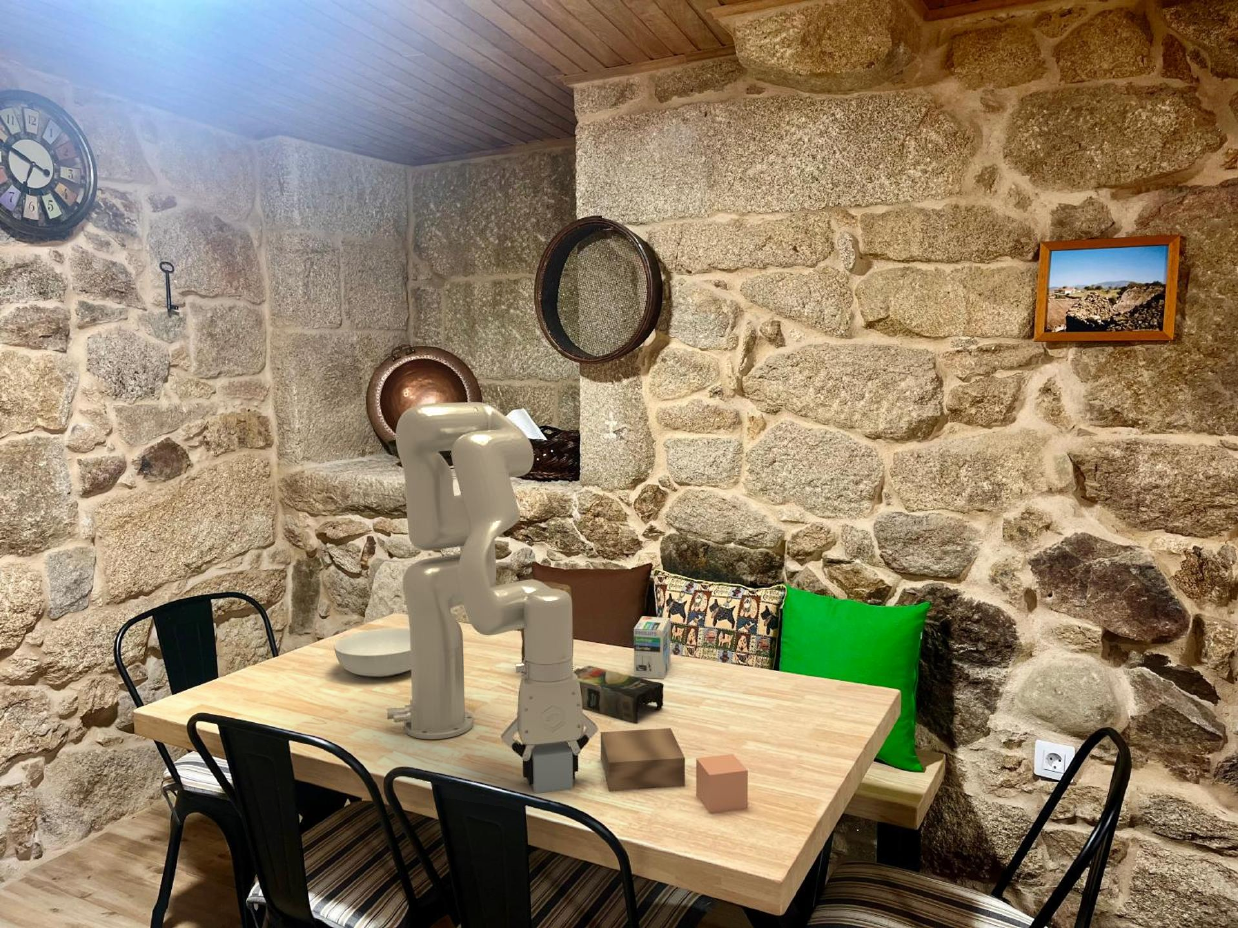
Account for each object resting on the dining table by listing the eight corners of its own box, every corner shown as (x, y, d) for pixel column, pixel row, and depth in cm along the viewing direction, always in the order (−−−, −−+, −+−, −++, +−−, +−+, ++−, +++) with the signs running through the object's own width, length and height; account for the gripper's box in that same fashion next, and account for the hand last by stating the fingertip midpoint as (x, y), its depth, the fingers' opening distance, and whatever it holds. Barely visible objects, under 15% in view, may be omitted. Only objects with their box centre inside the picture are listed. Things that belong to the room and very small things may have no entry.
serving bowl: (390, 650, 213) (389, 622, 212) (452, 666, 201) (451, 636, 200) (315, 674, 196) (314, 643, 195) (377, 693, 184) (376, 660, 183)
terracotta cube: (709, 813, 132) (709, 774, 132) (696, 795, 138) (696, 758, 138) (747, 808, 134) (747, 770, 133) (732, 790, 140) (732, 753, 139)
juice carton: (554, 702, 179) (554, 672, 178) (585, 688, 186) (586, 660, 186) (634, 727, 166) (635, 695, 166) (665, 711, 174) (665, 681, 174)
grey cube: (534, 793, 139) (534, 756, 139) (529, 776, 145) (528, 741, 144) (572, 788, 141) (572, 751, 140) (565, 772, 146) (565, 737, 146)
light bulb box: (664, 679, 191) (664, 630, 190) (633, 677, 192) (632, 628, 191) (671, 663, 201) (671, 616, 200) (641, 662, 203) (641, 615, 202)
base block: (609, 793, 140) (609, 762, 139) (600, 760, 152) (600, 732, 151) (684, 788, 141) (684, 757, 141) (670, 756, 153) (670, 727, 153)
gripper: (496, 681, 135) (499, 795, 137) (607, 671, 139) (608, 782, 141) (491, 665, 142) (493, 774, 144) (597, 656, 147) (598, 762, 148)
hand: (550, 777), depth 143 cm, fingers closed on grey cube, 6 cm apart
